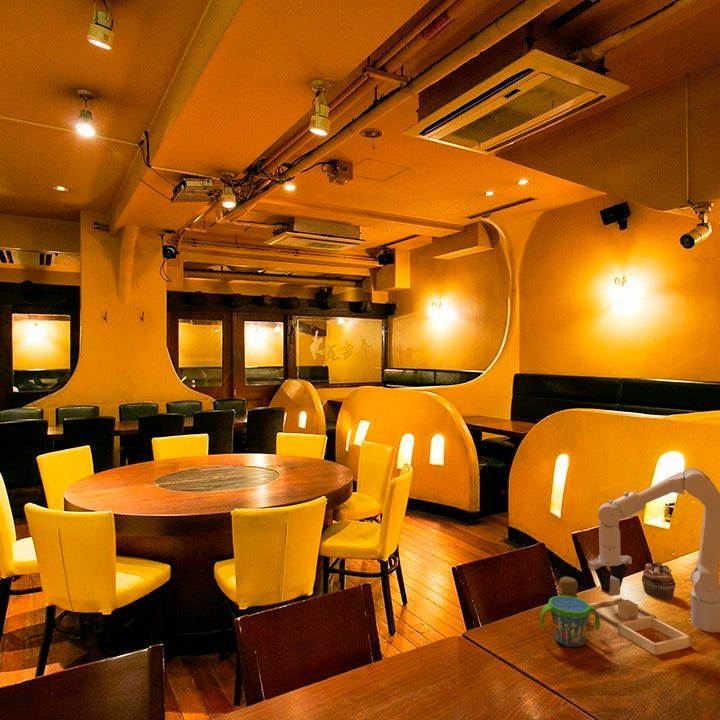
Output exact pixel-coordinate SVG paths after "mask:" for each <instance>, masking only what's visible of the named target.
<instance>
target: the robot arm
mask: <svg viewBox="0 0 720 720" xmlns="http://www.w3.org/2000/svg"><path fill="white" fill-rule="evenodd" d="M685 491H686V492H687V493H688V494H689V495H691V496H692V497H694V498H696V499H697V500H699V502H701V504H702V505H704V511H703V518H702V526H701V527H702V528H701V533H700V534H701V535H700V542H699V550H698V559H697V560H696V564H695V568H694V569H693V570H692V571H691V574H690V581H691V583H692V585H693V589H692V590H691V591H690V613H691V615H690V618H691V625H692V626H693V627H694V628H695V629H698V630H700V631H703V632H707V633H720V571H719V564H720V491H719V490H718V488H717V487H716V485H715V484H714V482H713V481H712V479H711V478H710V477H709V476H708V475H707V474H705V473H704V472H703V471H702V470H700V469H698V468H687V469H686V470H684V471H683V472H682V471H680V472H676V473H675V474H673V475H670V476H669V477H667V478H665V479H664V480H661V481H659V482H658V483H656V484H654V485H652V486H650V487H648V488H646V489H645V490H642V491H640V492H636V491H630V492H629V491H625V492H623V495H622V496H620V497H618V498H616V499H614V500H613V499H610V500H608V502H605V503H603V504H601V505H600V506H599V509H598V515H597V516H598V520H599V522H598V525H599V527H598V536H599V537H598V539H599V540H598V543H599V546H598V547H599V555H598V556H597V557H596V558H595V559H592V560H590V561H588V569H590V570H592V571H594V572H595V574H596V577H597V578H598V580H599V584H600V589H601V588H602V590H603V591H605V592H607V593H608V592H609V589H610V577H611V575H612V576H614V577H616V578H618V579H620V589H621V587H622V583H623V581H624V577H625V576H626V573H627V572H628V571H629V567H628V566H627V565H626V564H628V565H631V564H632V561H633V559H632V557H631V556H629V555H626V554H625V555H621V531H620V527H619V523H621V522H620V520H624V519H626V518H629V517H631V516H633V515H635V514H637V513H639V512H641V511H644V510H645V508H646V507H645V506H646V505H647V504H648V503H651V502H652V501H656V500H658V499H660V498H663V497H665V496H667V495H670V494H671V493H672V494H673V493H675V494H680V495H685Z"/></svg>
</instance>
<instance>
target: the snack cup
mask: <svg viewBox="0 0 720 720" xmlns="http://www.w3.org/2000/svg"><path fill="white" fill-rule="evenodd" d="M589 604H590V603H588V602H587V601H586V600H584V599H581V598H578V597H577V598H576V597H571V596H561V595H556V596H552V597H550V598H549V600H548V603H546V604H545V605H544V606H543V607H542V608H541V611H540V613H539V614H540V615H539V624H540V626H541V629H542V630H543V631H545V630H546V629H545V614H546V613H547V612H548V611H550V613H551V622H552V627H553V634H554V639H555V641H556V642H558V643H559V644H561V645H563V646H565V647H570V648H577V647H583V645H584V644H585V642H586V637H587V636H586V635H587V632H588V631H587V630H588V624H589V621H588V620H589V617H590V614H591V612H590V611H591V610H593V611H594V612H595V614H594V616H595V617H594V623H593V626H594V629H596V630H599V629H600V626H601V622H600V617H599V615H598V613H597V611H596V610H595V609H594V608H593V607H592V606H591V605H589Z"/></svg>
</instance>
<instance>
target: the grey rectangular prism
mask: <svg viewBox="0 0 720 720" xmlns="http://www.w3.org/2000/svg"><path fill="white" fill-rule="evenodd" d="M600 589H601V591H600V592H601V593H603V594H606V595H608V596H609V597H613V596H619V595H621V588H620V579H618V578H616V577H614V576H612V575H611V577H610V589H609V592H608V593H607V592H605V591H603V590H602V588H601V587H600Z"/></svg>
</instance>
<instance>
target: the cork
mask: <svg viewBox="0 0 720 720" xmlns="http://www.w3.org/2000/svg"><path fill="white" fill-rule="evenodd" d="M558 582H559V583H558V584H559V587H560V596H571V597H576V598H578V596H577V590H578V588H579V584H578V581H577V580H576V579H575V578H573V577H572V576H571V577H570V576H563V577H560V579H559V581H558Z"/></svg>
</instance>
